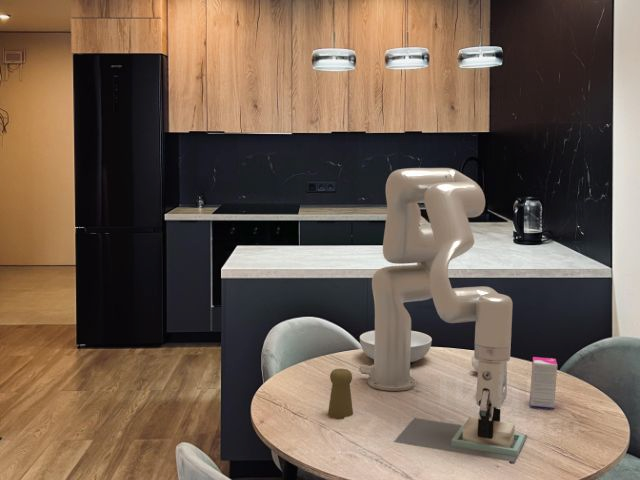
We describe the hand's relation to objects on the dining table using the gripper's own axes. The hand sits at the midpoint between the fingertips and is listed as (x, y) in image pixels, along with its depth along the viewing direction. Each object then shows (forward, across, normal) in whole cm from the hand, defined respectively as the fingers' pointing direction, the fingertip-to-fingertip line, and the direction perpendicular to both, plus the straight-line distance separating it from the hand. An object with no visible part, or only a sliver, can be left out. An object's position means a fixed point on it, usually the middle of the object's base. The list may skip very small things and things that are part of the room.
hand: (488, 430), depth 184 cm
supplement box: (+3, +31, -7) cm, 32 cm away
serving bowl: (+3, +53, +38) cm, 65 cm away
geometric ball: (+3, +50, +11) cm, 51 cm away
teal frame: (+3, 0, 0) cm, 3 cm away
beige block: (+3, 0, 0) cm, 3 cm away
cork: (+3, +4, +36) cm, 36 cm away
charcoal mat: (+3, 0, +6) cm, 7 cm away
